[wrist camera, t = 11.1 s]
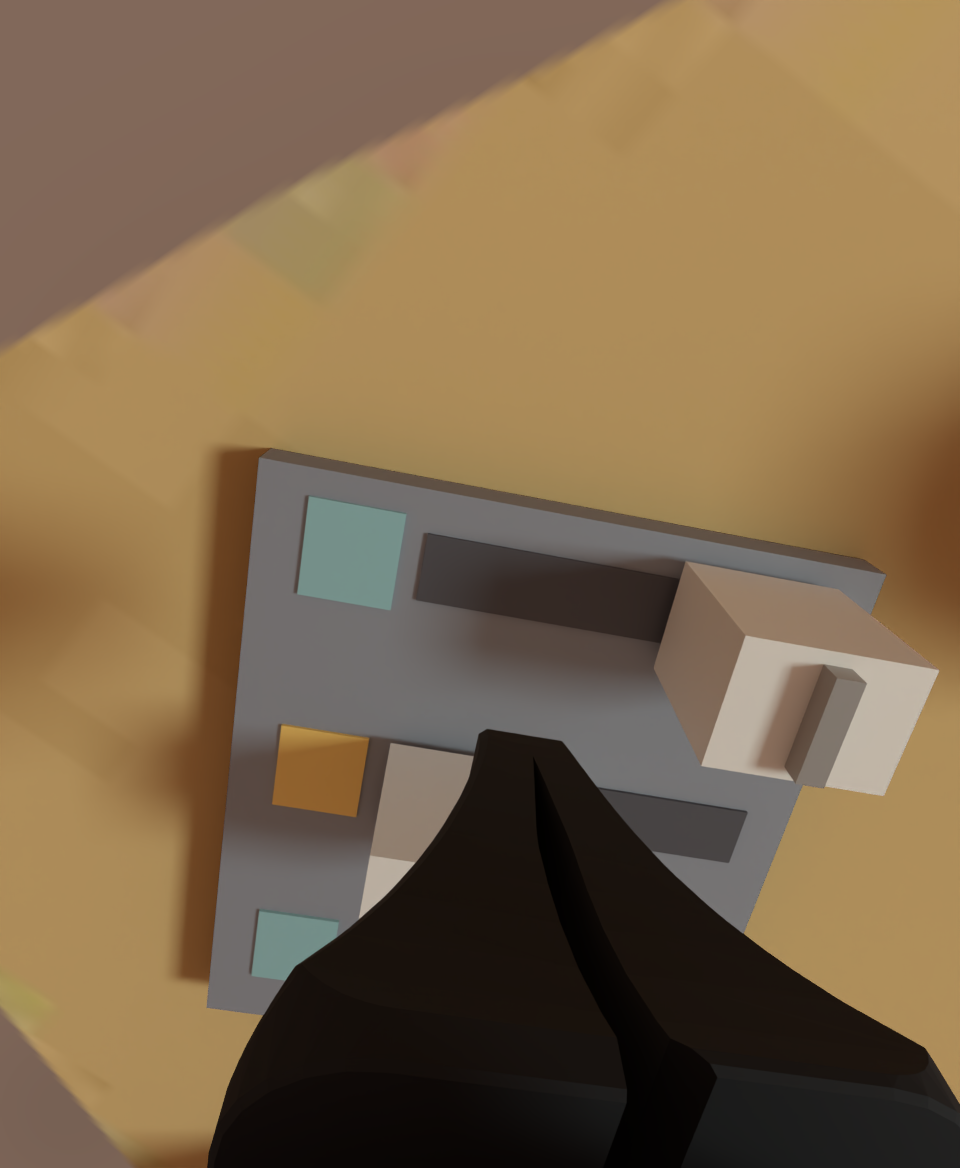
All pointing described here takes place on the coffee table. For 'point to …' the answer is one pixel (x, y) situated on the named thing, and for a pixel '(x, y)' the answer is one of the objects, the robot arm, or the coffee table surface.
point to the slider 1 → (411, 812)
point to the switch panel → (461, 687)
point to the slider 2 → (789, 680)
